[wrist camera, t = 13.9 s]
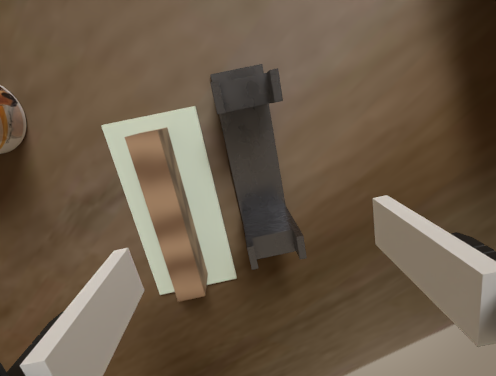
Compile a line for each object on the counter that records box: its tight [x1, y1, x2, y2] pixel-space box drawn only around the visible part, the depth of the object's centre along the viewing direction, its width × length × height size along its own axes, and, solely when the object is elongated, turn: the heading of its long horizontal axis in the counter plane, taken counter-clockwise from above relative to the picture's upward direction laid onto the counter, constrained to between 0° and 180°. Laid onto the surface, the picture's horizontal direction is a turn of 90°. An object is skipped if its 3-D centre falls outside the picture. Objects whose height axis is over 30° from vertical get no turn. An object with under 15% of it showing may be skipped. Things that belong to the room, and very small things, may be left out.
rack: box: [210, 64, 307, 270], centre depth 35 cm, size 25×7×12 cm, turn 11°
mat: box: [101, 106, 237, 295], centre depth 41 cm, size 28×13×1 cm, turn 11°
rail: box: [125, 127, 208, 302], centre depth 39 cm, size 24×4×6 cm, turn 11°
